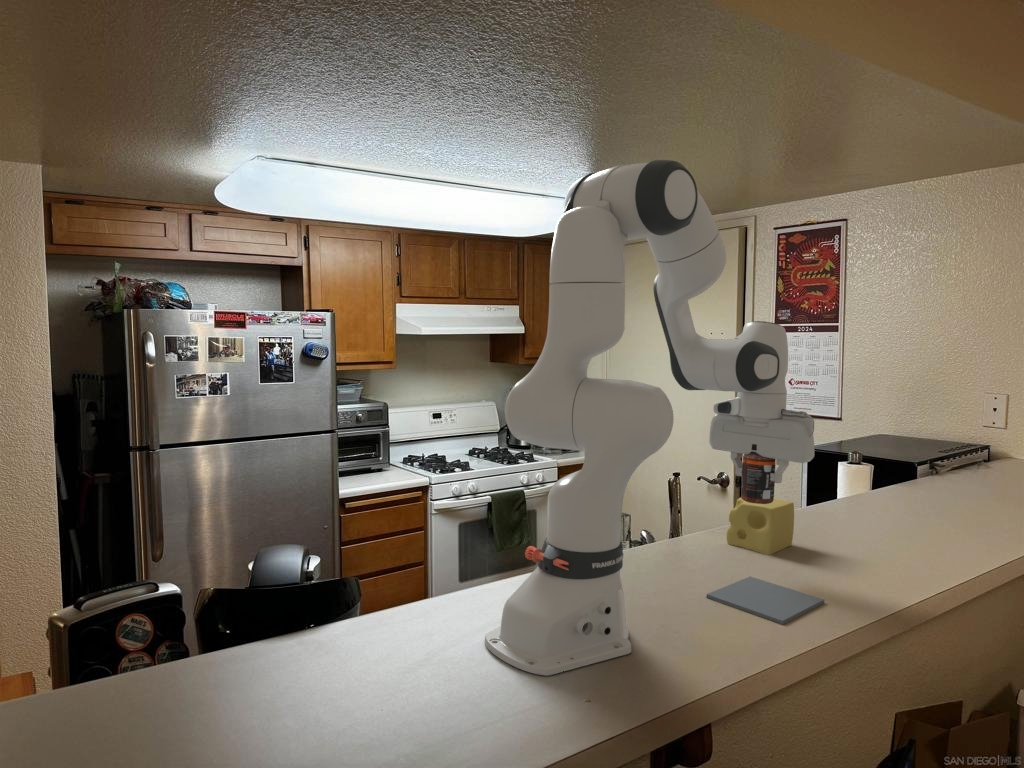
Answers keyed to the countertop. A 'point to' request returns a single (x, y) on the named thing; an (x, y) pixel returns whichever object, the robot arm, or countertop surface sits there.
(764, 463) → the supplement bottle
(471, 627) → the countertop surface
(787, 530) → the cheese
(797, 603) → the mat
